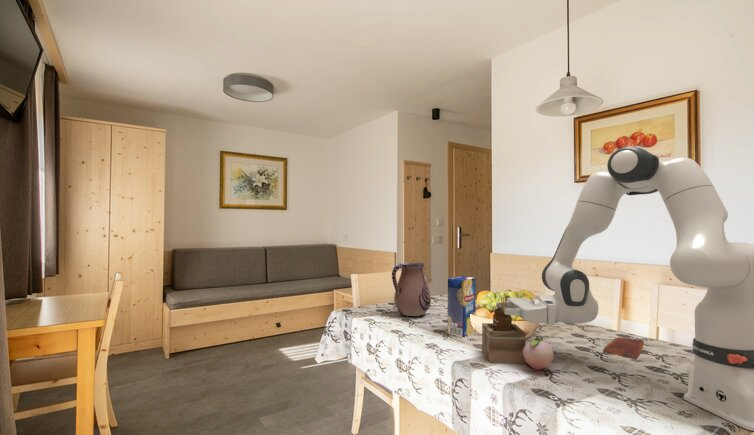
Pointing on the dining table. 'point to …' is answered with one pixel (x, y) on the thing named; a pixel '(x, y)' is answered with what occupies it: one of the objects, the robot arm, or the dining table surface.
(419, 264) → the ceramic pitcher
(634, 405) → the dining table surface
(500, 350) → the walnut box
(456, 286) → the beverage box
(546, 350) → the decorative fruit
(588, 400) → the dining table surface
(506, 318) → the utensil holder
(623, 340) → the wooden tablet
